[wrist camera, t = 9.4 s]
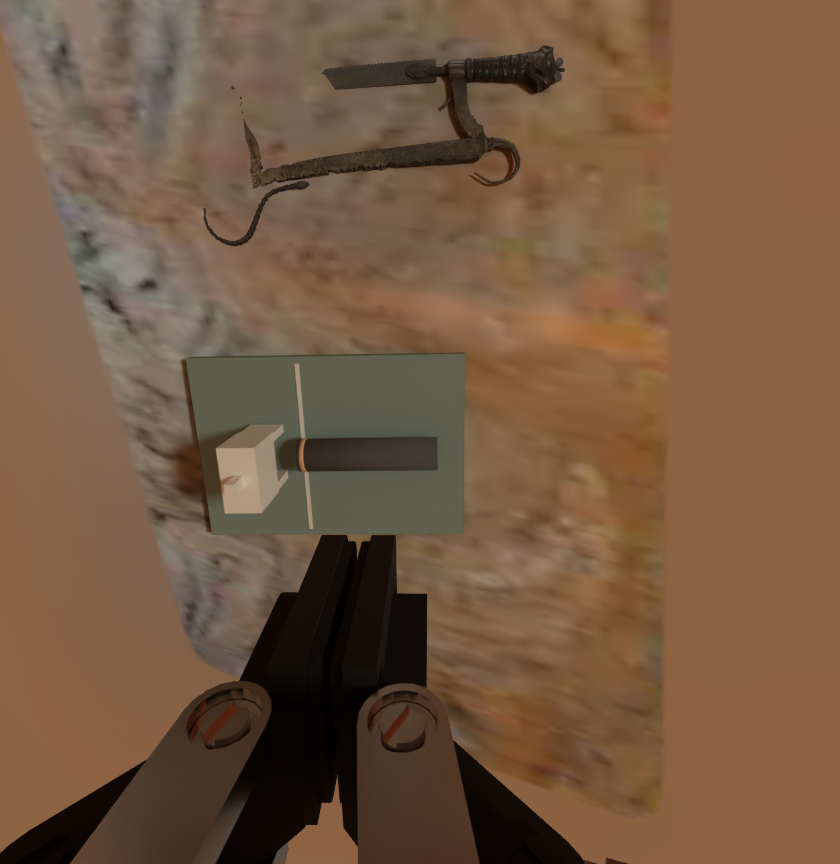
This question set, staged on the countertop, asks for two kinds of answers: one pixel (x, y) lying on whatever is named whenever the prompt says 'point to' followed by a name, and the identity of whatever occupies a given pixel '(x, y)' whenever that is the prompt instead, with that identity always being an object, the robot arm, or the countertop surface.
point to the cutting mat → (337, 418)
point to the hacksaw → (521, 68)
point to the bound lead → (367, 454)
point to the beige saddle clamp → (250, 469)
